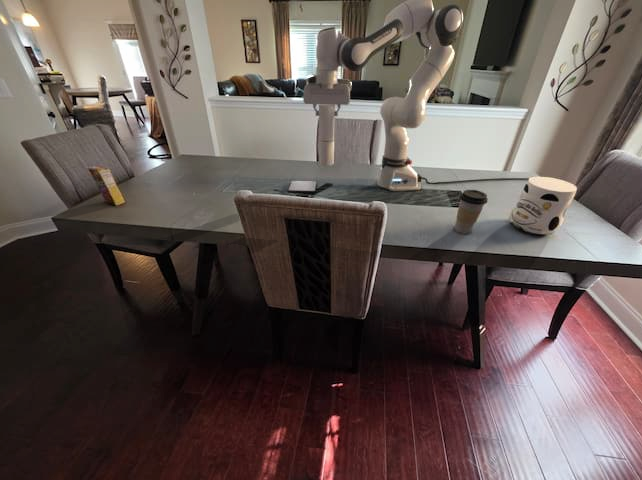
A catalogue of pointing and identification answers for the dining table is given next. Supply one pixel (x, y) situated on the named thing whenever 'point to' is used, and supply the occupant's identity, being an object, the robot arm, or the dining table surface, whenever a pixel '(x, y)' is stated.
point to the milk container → (542, 205)
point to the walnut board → (302, 187)
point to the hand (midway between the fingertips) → (326, 115)
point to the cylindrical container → (326, 133)
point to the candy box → (106, 185)
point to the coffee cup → (469, 210)
